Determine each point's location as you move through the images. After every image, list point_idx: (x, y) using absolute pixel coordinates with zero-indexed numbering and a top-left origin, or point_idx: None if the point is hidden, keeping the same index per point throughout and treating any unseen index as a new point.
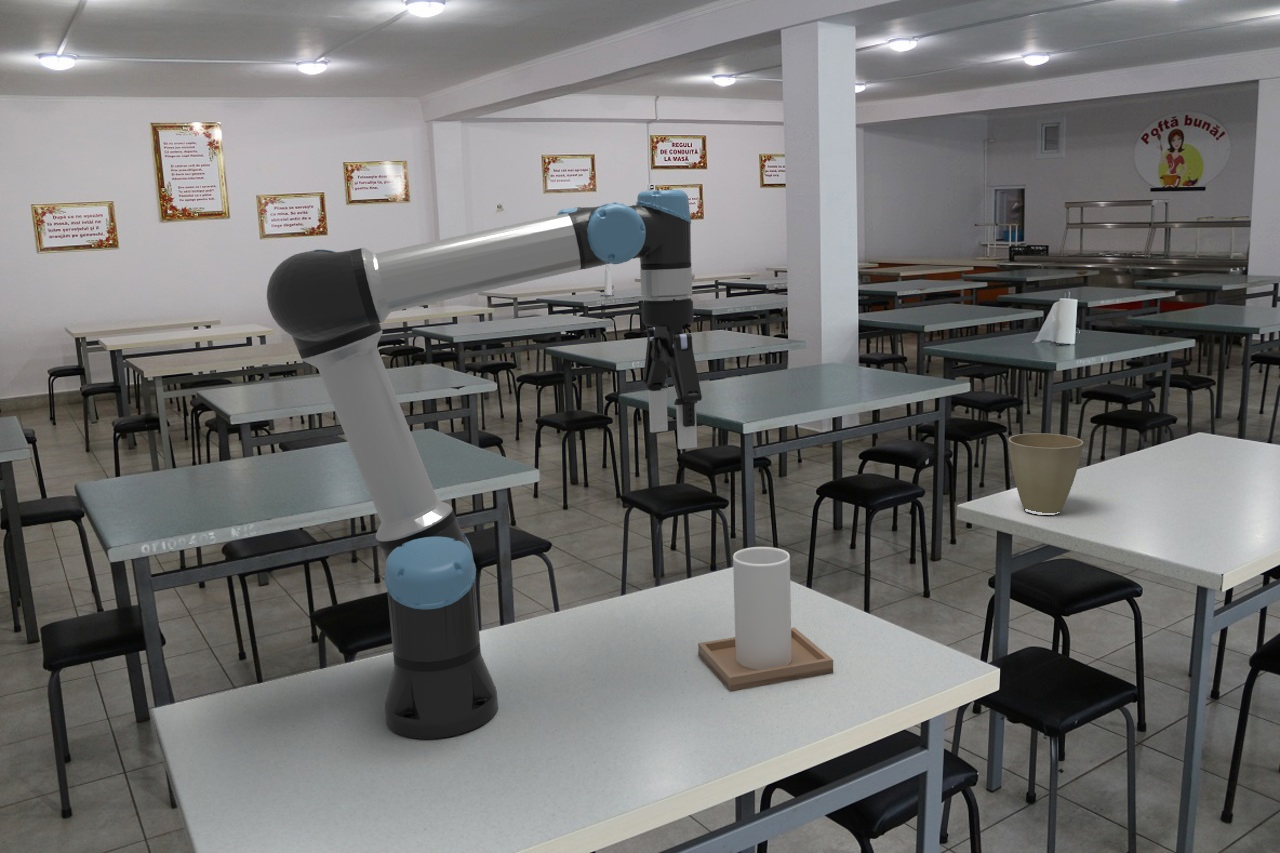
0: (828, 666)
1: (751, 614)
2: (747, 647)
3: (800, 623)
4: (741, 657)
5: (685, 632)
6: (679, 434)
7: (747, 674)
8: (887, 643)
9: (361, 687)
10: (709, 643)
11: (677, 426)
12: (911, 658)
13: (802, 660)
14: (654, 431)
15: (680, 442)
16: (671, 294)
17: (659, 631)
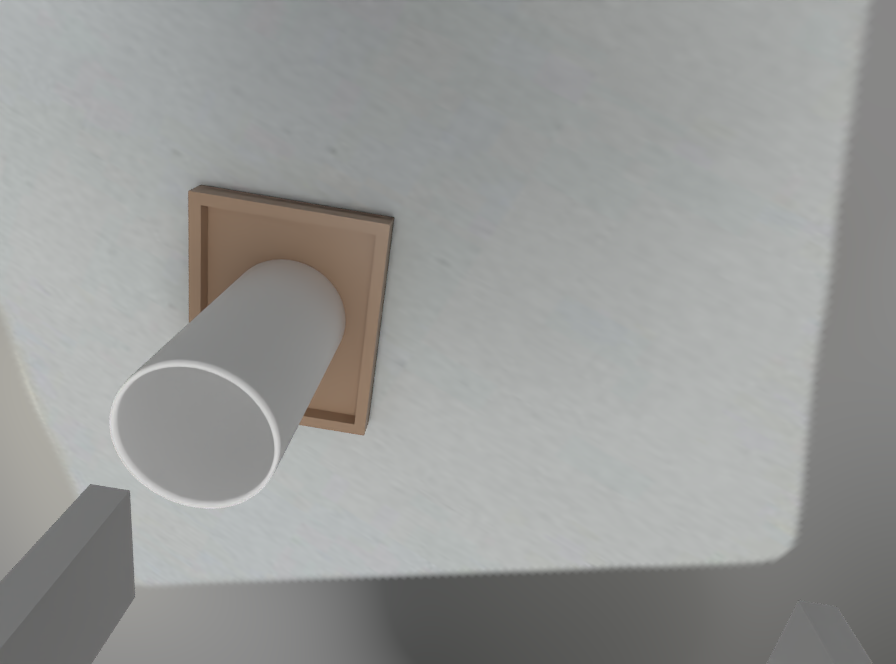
0: None
1: (199, 314)
2: (241, 278)
3: (434, 472)
4: (269, 265)
5: (528, 256)
6: (15, 571)
7: (189, 232)
8: (274, 533)
9: None
10: (375, 246)
11: (2, 628)
12: (201, 525)
13: None
14: (791, 623)
15: (57, 525)
16: None
17: (570, 207)
